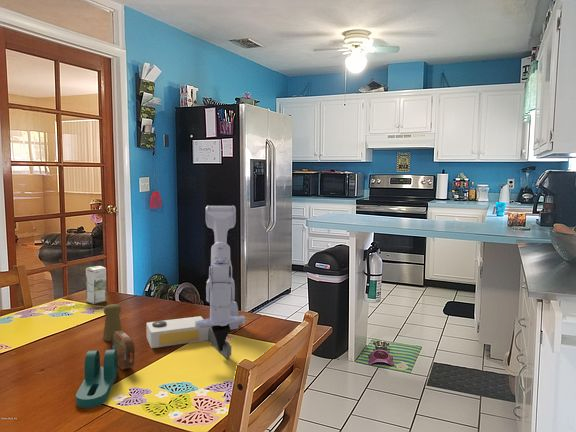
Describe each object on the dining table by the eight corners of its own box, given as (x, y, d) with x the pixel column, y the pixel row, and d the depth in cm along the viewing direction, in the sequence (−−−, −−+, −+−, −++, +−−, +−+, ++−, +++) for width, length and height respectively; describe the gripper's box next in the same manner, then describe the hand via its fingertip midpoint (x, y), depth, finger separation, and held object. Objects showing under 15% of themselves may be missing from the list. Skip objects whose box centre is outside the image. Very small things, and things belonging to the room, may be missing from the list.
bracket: (91, 375, 122) (90, 346, 121) (117, 373, 123) (117, 345, 123) (72, 409, 105) (71, 376, 104) (103, 407, 106) (103, 374, 105)
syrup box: (98, 298, 193) (97, 265, 192) (107, 301, 190) (106, 267, 189) (86, 302, 189) (85, 267, 187) (94, 304, 185) (93, 269, 184)
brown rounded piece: (110, 355, 135) (109, 327, 134) (120, 353, 137) (120, 326, 136) (125, 374, 123) (124, 344, 122) (136, 371, 125) (136, 341, 124)
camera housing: (200, 330, 157) (200, 314, 157) (209, 340, 148) (209, 323, 147) (146, 337, 150) (146, 320, 149) (151, 349, 140) (151, 331, 140)
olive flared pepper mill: (116, 341, 146) (115, 308, 145) (99, 340, 147) (98, 306, 146) (126, 335, 151) (125, 302, 150) (110, 333, 153) (109, 301, 152)
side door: (207, 340, 147) (207, 326, 147) (212, 339, 148) (212, 326, 148) (226, 359, 133) (226, 344, 132) (231, 358, 133) (231, 343, 133)
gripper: (198, 311, 126) (198, 358, 128) (248, 305, 132) (248, 351, 133) (193, 304, 133) (193, 349, 134) (241, 299, 138) (241, 343, 140)
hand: (220, 349), depth 134 cm, fingers closed
